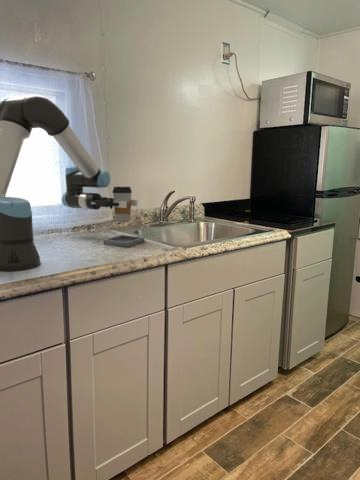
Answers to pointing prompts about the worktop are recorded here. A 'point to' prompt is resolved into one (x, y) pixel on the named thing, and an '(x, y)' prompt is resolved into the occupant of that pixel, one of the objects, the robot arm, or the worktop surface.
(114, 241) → the dish
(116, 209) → the coffee cup
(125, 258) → the worktop surface
